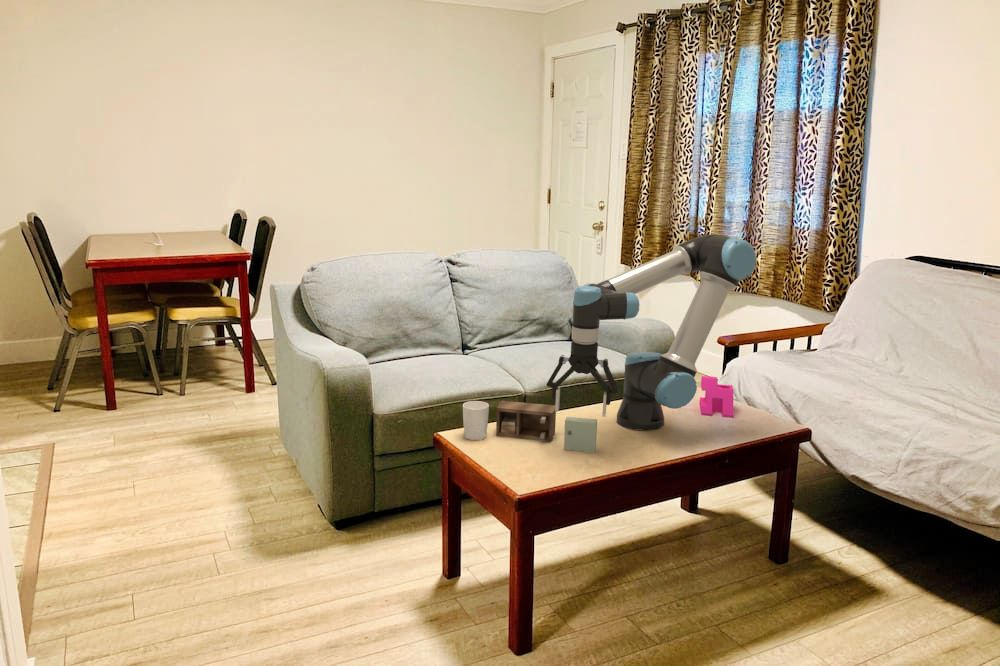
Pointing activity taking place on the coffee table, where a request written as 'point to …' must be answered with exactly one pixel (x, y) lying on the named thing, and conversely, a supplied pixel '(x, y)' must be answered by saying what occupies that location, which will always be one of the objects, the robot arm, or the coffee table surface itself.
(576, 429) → the sage door
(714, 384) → the pink notched block
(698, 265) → the robot arm
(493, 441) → the coffee table surface
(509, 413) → the walnut cabinet
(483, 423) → the white cup
